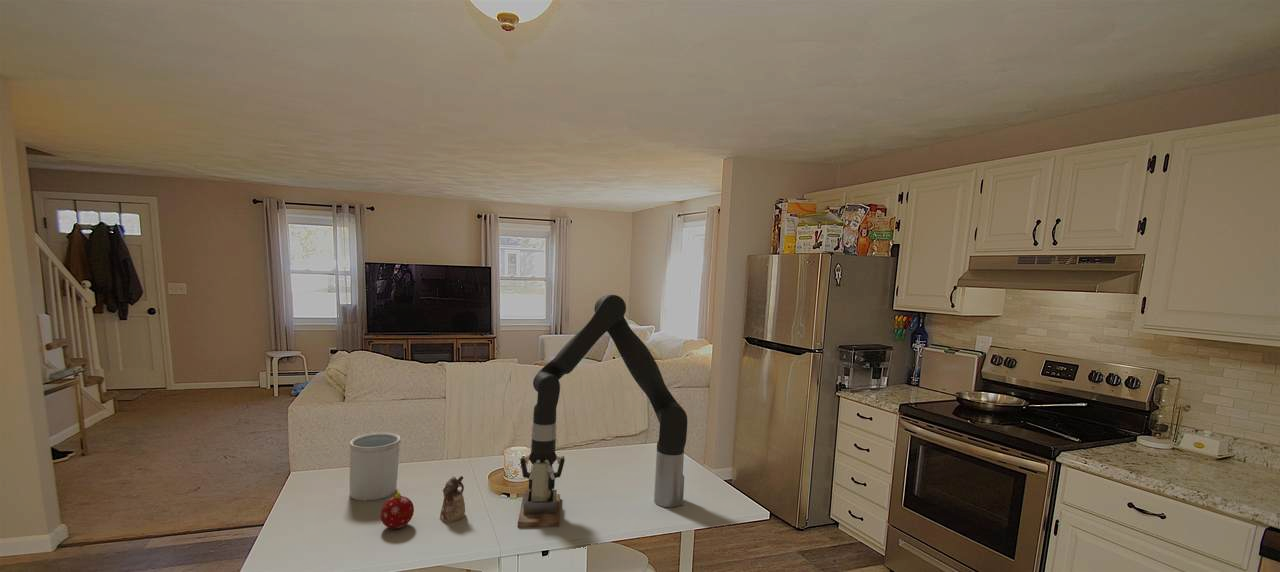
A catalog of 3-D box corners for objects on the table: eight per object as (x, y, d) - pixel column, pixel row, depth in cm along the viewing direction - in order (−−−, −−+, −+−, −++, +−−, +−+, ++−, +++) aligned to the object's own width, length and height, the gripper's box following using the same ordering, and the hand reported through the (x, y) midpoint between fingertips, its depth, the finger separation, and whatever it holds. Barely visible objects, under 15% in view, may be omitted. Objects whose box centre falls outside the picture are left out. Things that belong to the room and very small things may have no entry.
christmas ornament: (382, 537, 139) (384, 501, 138) (377, 524, 146) (379, 490, 145) (416, 529, 144) (417, 494, 144) (409, 517, 151) (411, 484, 150)
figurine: (440, 512, 155) (441, 473, 154) (464, 509, 157) (466, 471, 157) (439, 523, 148) (441, 482, 148) (465, 520, 150) (467, 480, 150)
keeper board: (560, 498, 168) (560, 494, 168) (558, 526, 150) (559, 521, 150) (523, 498, 167) (523, 494, 167) (517, 527, 148) (517, 522, 148)
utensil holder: (396, 499, 162) (399, 444, 162) (343, 504, 157) (346, 448, 156) (399, 481, 176) (402, 431, 176) (351, 485, 170) (353, 434, 170)
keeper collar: (556, 500, 164) (556, 489, 163) (555, 514, 154) (556, 502, 154) (526, 500, 162) (526, 489, 162) (523, 514, 153) (523, 503, 153)
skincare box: (543, 504, 155) (546, 465, 155) (530, 502, 155) (532, 463, 155) (551, 496, 161) (553, 458, 161) (537, 494, 162) (540, 456, 161)
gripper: (567, 432, 163) (564, 485, 163) (521, 432, 161) (519, 485, 161) (567, 440, 155) (564, 495, 155) (519, 440, 153) (516, 495, 153)
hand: (541, 489), depth 158 cm, fingers closed on skincare box, 5 cm apart
